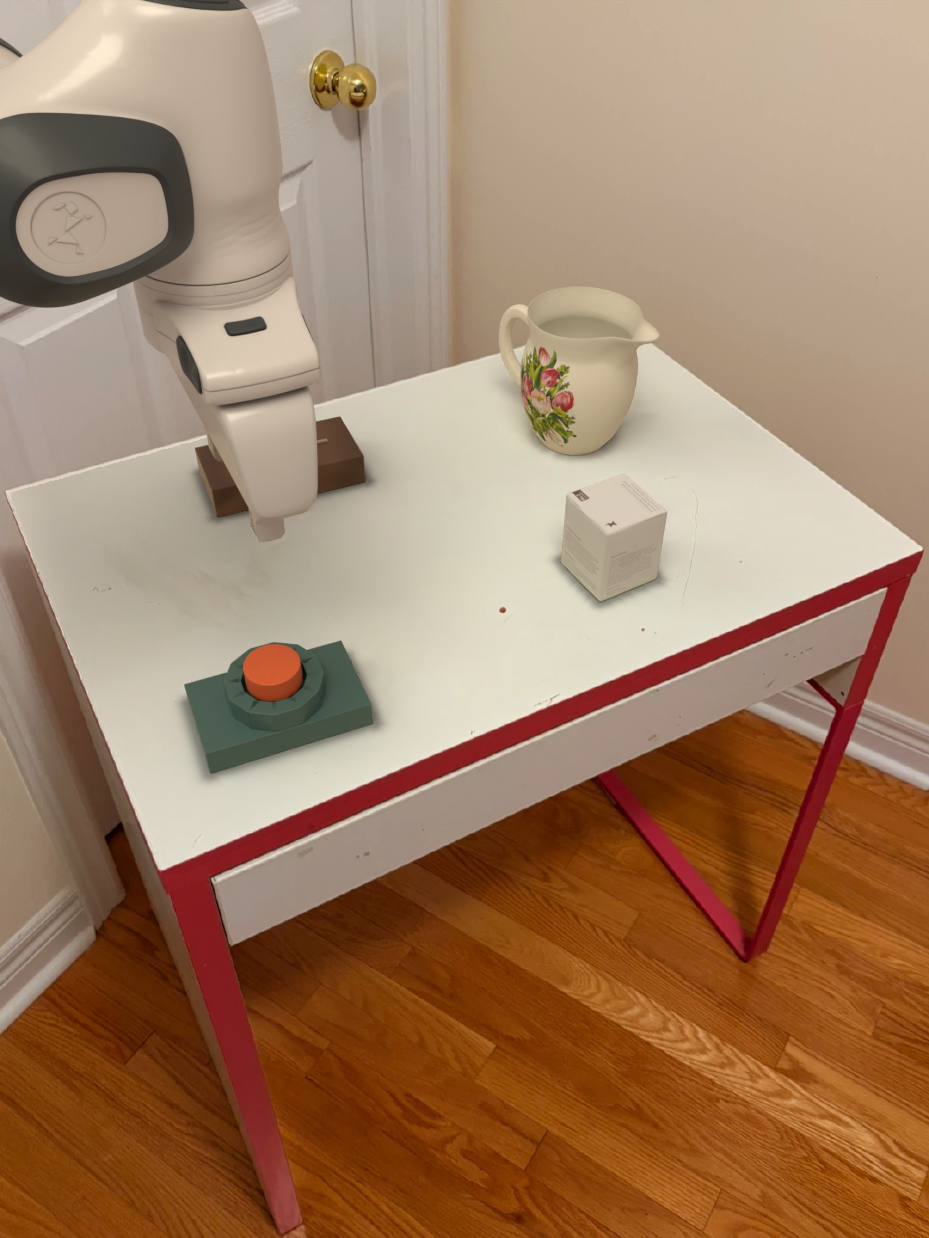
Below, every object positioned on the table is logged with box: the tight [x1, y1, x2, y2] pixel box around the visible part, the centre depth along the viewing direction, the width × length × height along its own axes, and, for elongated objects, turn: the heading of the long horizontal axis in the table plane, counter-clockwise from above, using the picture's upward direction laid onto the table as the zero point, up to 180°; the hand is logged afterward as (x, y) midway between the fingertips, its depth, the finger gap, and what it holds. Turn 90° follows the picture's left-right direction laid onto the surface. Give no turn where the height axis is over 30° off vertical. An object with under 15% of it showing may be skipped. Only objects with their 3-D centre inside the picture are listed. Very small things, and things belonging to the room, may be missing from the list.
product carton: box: [560, 473, 668, 602], centre depth 87 cm, size 6×6×7 cm
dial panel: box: [194, 415, 366, 518], centre depth 97 cm, size 14×9×3 cm, turn 113°
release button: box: [243, 644, 303, 702], centre depth 74 cm, size 4×4×2 cm
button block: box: [183, 640, 374, 774], centre depth 76 cm, size 12×7×4 cm, turn 113°
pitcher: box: [498, 285, 661, 456], centre depth 99 cm, size 11×18×14 cm, turn 45°
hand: (245, 492), depth 69 cm, fingers open, 8 cm apart
